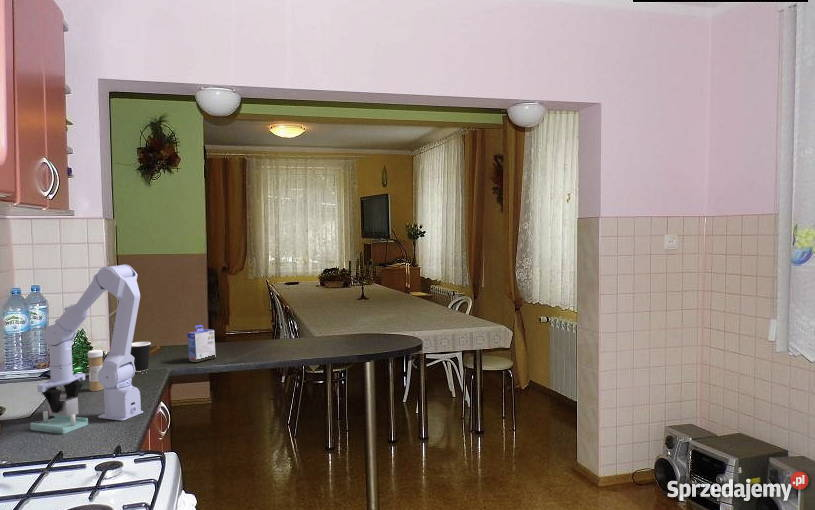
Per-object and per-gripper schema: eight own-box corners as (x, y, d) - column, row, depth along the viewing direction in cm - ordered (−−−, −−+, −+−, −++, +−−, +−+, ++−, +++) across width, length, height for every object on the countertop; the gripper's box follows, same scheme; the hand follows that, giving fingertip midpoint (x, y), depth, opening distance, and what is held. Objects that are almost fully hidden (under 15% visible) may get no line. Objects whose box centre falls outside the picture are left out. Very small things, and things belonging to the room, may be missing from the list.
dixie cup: (125, 374, 227) (123, 345, 226) (136, 369, 235) (134, 341, 234) (145, 374, 226) (144, 345, 225) (155, 369, 234) (154, 341, 233)
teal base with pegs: (88, 424, 170) (87, 410, 169) (63, 434, 162) (62, 419, 162) (56, 420, 174) (55, 406, 173) (30, 429, 166) (29, 415, 166)
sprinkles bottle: (92, 388, 208) (90, 349, 208) (106, 387, 209) (104, 349, 208) (87, 391, 204) (85, 352, 203) (101, 391, 204) (99, 351, 204)
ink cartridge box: (207, 357, 254) (206, 323, 253) (216, 358, 251) (215, 324, 250) (187, 362, 246) (186, 326, 245) (196, 363, 243) (195, 327, 242)
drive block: (78, 413, 180) (77, 397, 180) (66, 418, 176) (65, 400, 176) (61, 411, 182) (60, 395, 182) (49, 415, 179) (48, 398, 178)
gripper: (72, 358, 187) (74, 401, 188) (28, 369, 173) (31, 415, 174) (89, 359, 184) (91, 403, 185) (46, 370, 171) (49, 418, 171)
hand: (63, 409), depth 179 cm, fingers open, 5 cm apart
